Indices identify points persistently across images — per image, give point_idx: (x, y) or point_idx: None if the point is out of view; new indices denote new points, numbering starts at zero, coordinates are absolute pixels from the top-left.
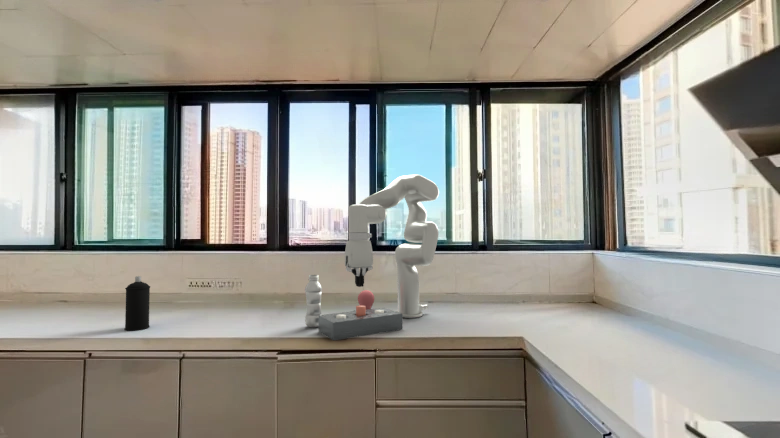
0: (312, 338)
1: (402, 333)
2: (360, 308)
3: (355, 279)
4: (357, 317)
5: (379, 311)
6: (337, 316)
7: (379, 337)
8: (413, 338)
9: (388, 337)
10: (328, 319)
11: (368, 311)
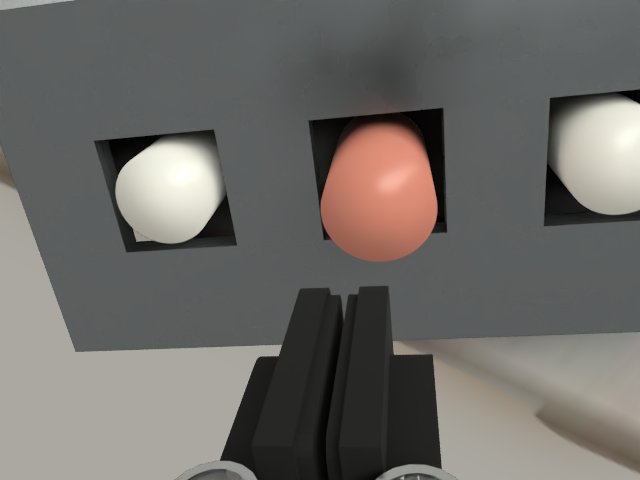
0: (5, 179)
1: (616, 337)
2: (354, 250)
3: (240, 431)
4: (300, 284)
5: (599, 198)
6: (124, 217)
7: (422, 348)
8: (596, 449)
9: (474, 371)
10: (46, 241)
11: (525, 71)
